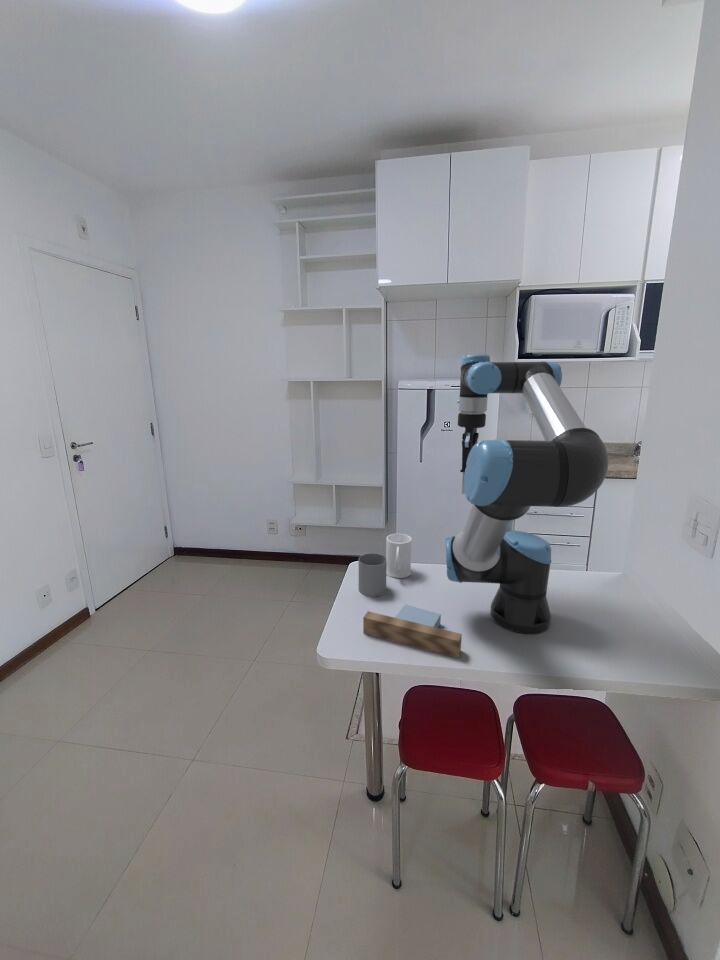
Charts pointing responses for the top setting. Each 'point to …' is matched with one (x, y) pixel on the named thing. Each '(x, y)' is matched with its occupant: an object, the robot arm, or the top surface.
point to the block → (419, 616)
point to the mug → (398, 555)
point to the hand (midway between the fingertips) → (466, 493)
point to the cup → (372, 574)
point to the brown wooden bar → (412, 634)
